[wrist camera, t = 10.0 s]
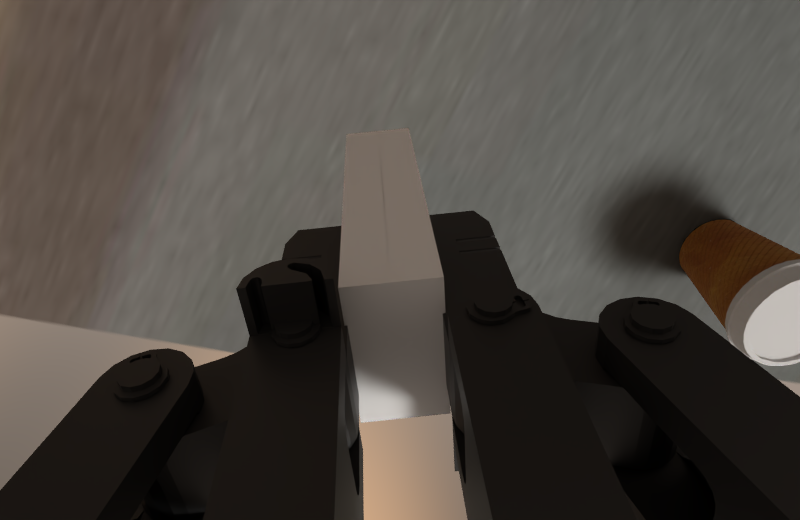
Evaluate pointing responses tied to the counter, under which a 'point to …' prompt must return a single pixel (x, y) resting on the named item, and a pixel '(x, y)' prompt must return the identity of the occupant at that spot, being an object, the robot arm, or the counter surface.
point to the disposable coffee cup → (748, 288)
